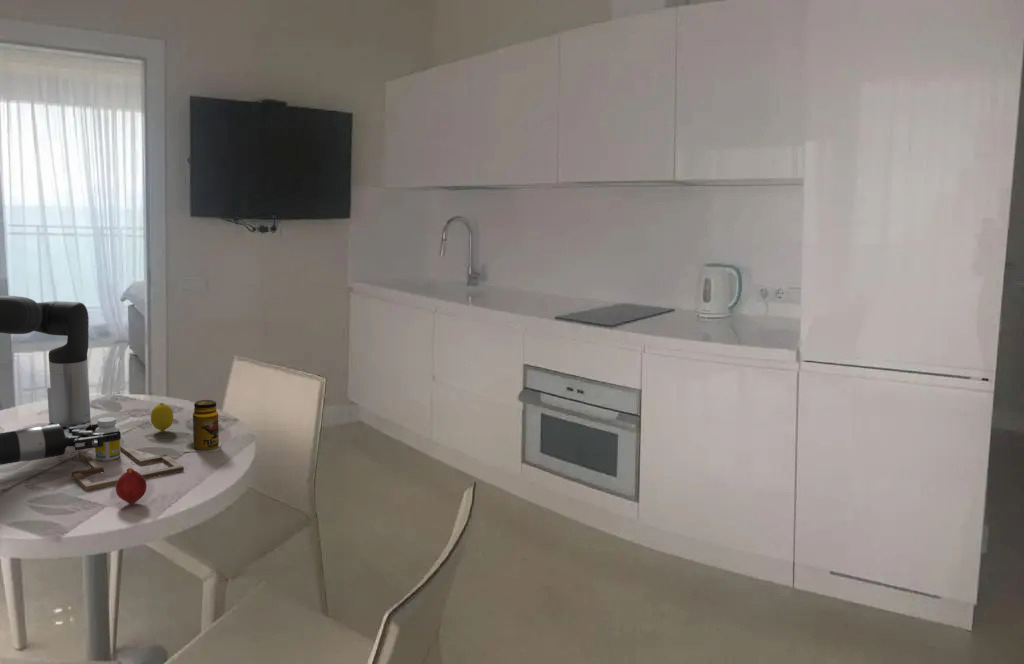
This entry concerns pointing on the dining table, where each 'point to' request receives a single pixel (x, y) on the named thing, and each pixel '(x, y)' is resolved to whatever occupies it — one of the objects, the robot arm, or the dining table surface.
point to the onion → (131, 486)
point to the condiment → (204, 428)
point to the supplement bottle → (110, 448)
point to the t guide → (97, 468)
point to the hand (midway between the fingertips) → (114, 430)
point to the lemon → (162, 417)
